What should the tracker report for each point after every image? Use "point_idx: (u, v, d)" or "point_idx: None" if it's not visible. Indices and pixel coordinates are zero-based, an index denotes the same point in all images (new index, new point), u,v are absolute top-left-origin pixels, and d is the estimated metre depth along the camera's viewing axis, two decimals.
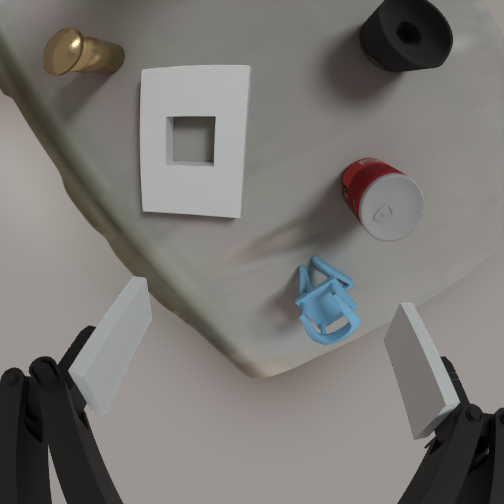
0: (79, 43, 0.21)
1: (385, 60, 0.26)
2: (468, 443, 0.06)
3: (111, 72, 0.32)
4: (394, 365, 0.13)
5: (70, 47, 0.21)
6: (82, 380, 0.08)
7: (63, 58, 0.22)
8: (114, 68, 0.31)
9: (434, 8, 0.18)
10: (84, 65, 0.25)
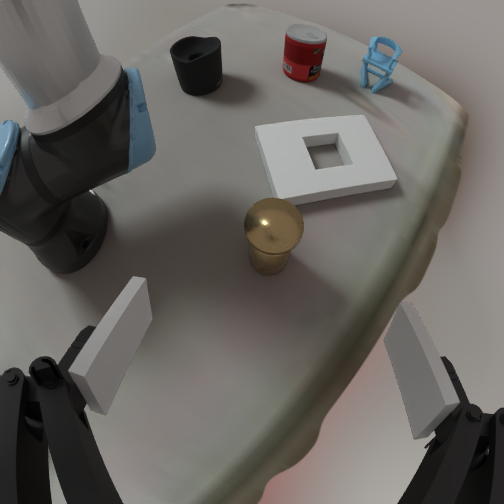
0: (265, 199, 0.30)
1: (220, 67, 0.47)
2: (468, 443, 0.06)
3: None
4: (394, 365, 0.13)
5: (269, 209, 0.30)
6: (82, 380, 0.08)
7: (283, 216, 0.30)
8: None
9: (174, 45, 0.43)
10: None
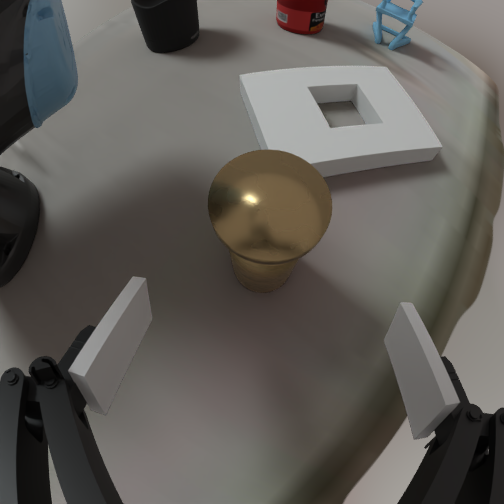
0: (250, 152, 0.15)
1: (195, 15, 0.31)
2: (468, 443, 0.06)
3: None
4: (394, 365, 0.13)
5: (260, 171, 0.14)
6: (82, 380, 0.08)
7: (288, 183, 0.14)
8: None
9: None
10: None
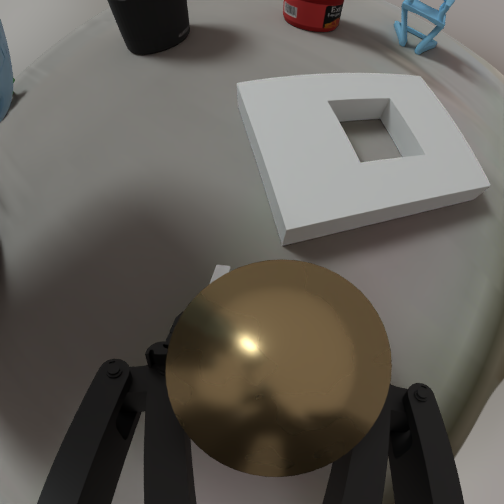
0: (244, 268, 0.08)
1: (183, 8, 0.24)
2: (379, 415, 0.08)
3: None
4: None
5: (264, 314, 0.07)
6: None
7: (318, 337, 0.07)
8: None
9: None
10: None
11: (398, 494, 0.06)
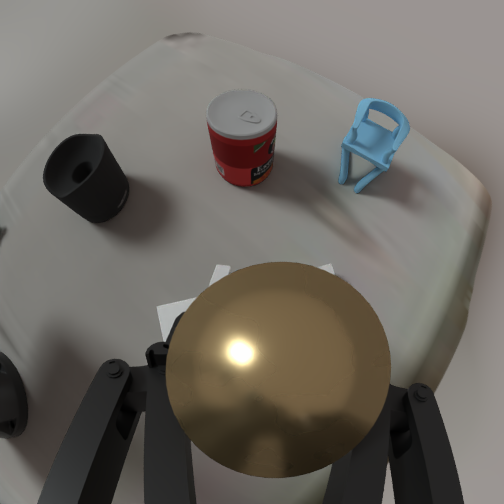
0: (244, 270, 0.08)
1: (115, 184, 0.34)
2: (379, 415, 0.08)
3: None
4: None
5: (264, 316, 0.07)
6: None
7: (318, 339, 0.07)
8: None
9: (50, 157, 0.29)
10: None
11: (398, 494, 0.06)
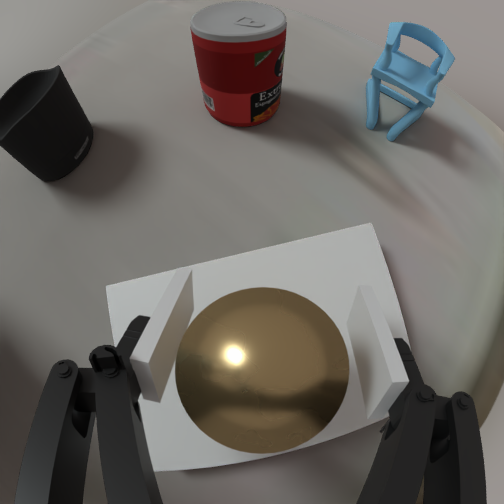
0: (234, 293, 0.10)
1: (71, 125, 0.22)
2: (423, 425, 0.07)
3: None
4: (353, 347, 0.14)
5: (249, 329, 0.10)
6: (144, 367, 0.09)
7: (290, 347, 0.09)
8: None
9: (0, 99, 0.18)
10: None
11: (427, 498, 0.06)
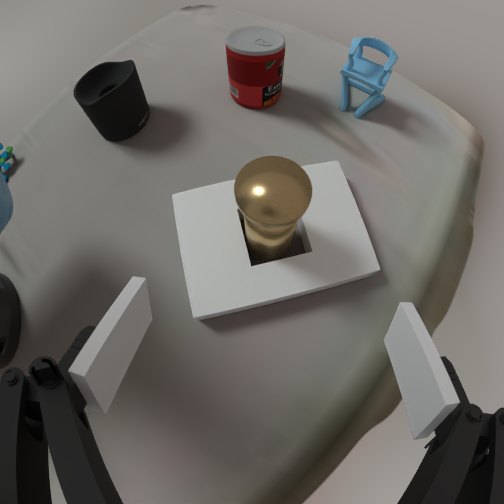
0: (259, 158, 0.23)
1: (139, 101, 0.35)
2: (468, 443, 0.06)
3: None
4: (394, 365, 0.13)
5: (266, 170, 0.22)
6: (82, 380, 0.08)
7: (284, 177, 0.22)
8: None
9: (81, 79, 0.31)
10: None
11: None
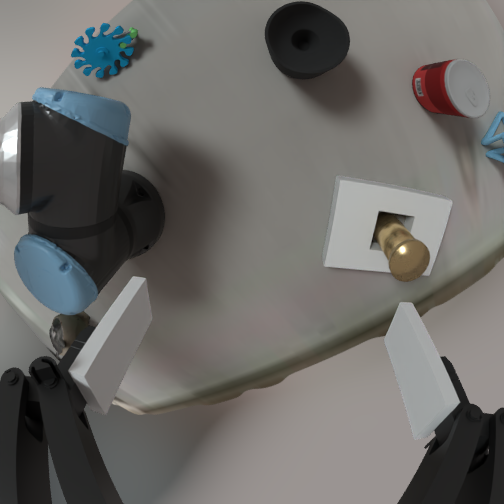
0: (414, 241, 0.33)
1: None
2: (468, 443, 0.06)
3: None
4: (394, 365, 0.13)
5: (413, 251, 0.33)
6: (82, 380, 0.08)
7: (419, 258, 0.34)
8: None
9: (274, 16, 0.24)
10: None
11: None
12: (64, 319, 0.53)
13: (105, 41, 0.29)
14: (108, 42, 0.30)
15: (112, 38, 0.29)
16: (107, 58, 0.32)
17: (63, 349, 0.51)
